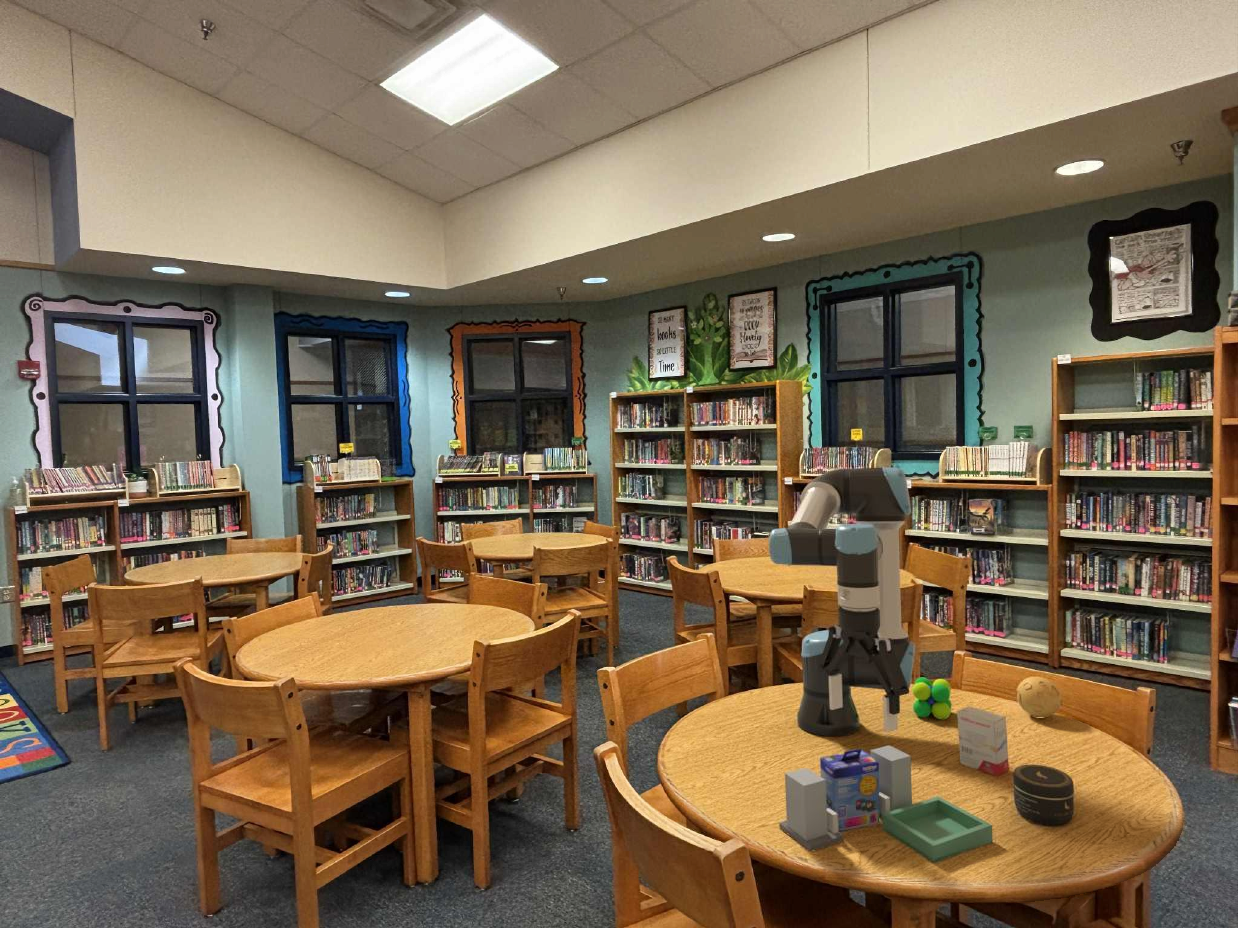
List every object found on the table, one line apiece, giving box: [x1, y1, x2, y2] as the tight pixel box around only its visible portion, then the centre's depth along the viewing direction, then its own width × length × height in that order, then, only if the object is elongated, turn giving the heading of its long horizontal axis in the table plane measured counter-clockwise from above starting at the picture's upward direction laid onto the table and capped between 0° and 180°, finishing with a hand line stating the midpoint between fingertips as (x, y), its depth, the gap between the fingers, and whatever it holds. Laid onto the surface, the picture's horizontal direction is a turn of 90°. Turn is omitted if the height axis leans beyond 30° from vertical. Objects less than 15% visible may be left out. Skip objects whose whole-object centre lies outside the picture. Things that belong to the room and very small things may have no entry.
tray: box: [881, 796, 994, 864], centre depth 132 cm, size 12×14×3 cm
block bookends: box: [778, 745, 913, 852], centre depth 138 cm, size 9×26×11 cm, turn 114°
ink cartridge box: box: [819, 748, 880, 832], centre depth 138 cm, size 10×6×14 cm, turn 105°
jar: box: [1012, 764, 1075, 828], centre depth 138 cm, size 10×10×8 cm
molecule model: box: [912, 676, 952, 721], centre depth 188 cm, size 9×9×9 cm
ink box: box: [956, 706, 1010, 777], centre depth 158 cm, size 9×5×12 cm, turn 33°
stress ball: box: [1015, 676, 1063, 718], centre depth 184 cm, size 10×10×10 cm
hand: (862, 718), depth 138 cm, fingers open, 13 cm apart
